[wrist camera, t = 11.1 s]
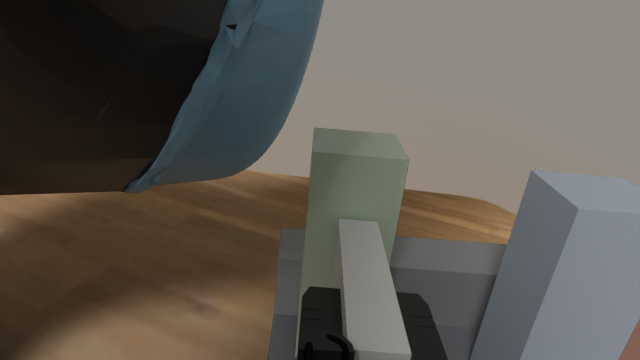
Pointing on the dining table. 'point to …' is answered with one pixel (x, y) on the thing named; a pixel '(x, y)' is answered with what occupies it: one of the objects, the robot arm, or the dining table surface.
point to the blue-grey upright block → (567, 272)
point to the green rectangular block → (349, 196)
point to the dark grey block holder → (404, 287)
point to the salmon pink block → (632, 345)
